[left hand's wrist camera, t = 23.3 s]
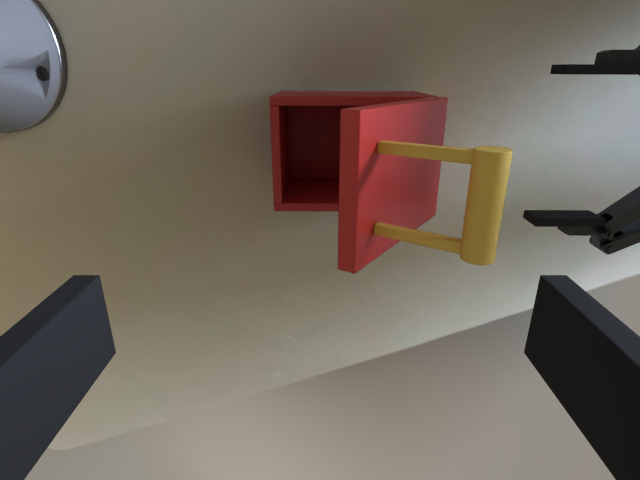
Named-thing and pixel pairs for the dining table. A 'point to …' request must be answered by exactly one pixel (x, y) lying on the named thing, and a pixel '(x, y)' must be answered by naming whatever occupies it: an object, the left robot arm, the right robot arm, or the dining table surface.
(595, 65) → the right robot arm
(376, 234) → the lid
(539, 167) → the dining table surface
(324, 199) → the red box
